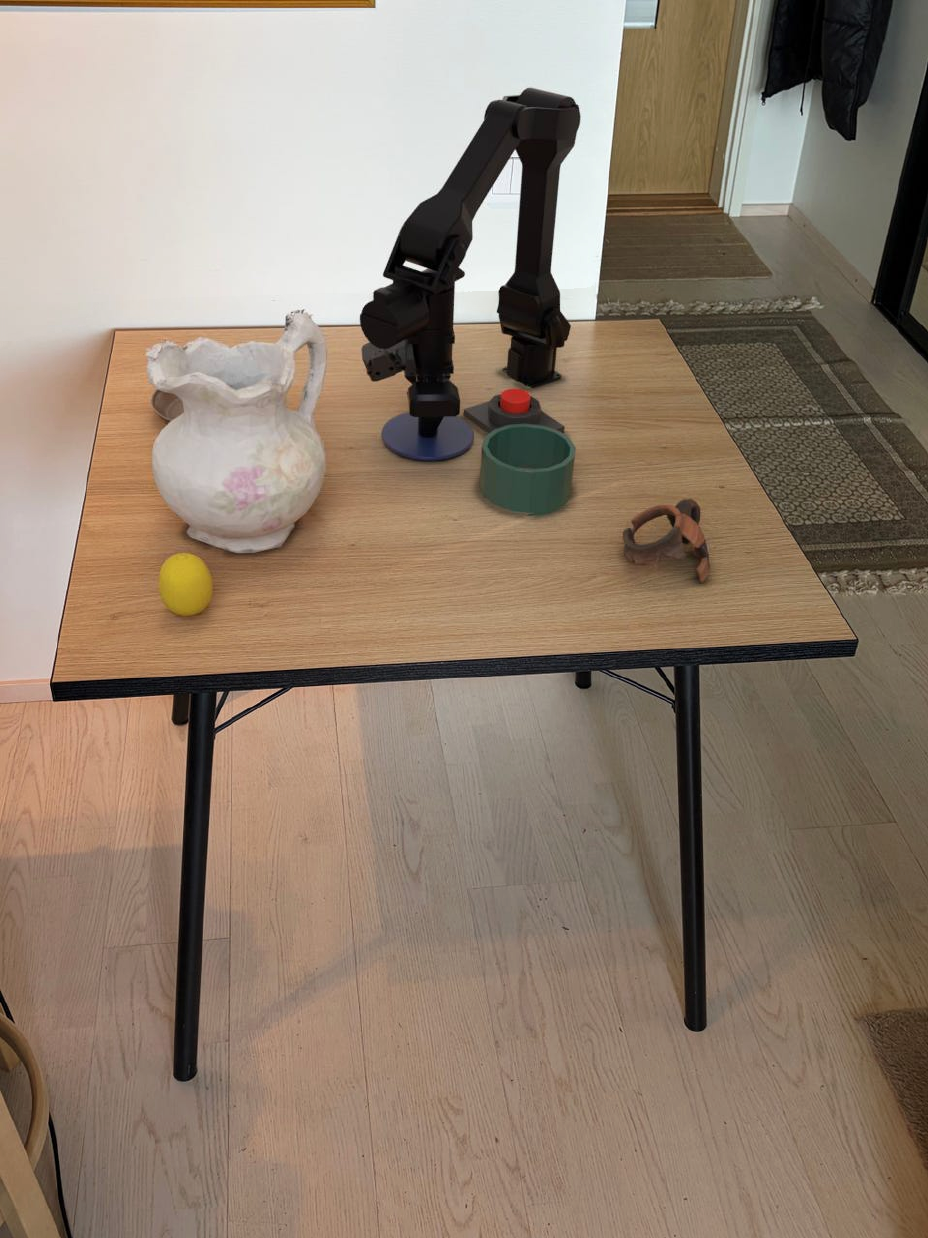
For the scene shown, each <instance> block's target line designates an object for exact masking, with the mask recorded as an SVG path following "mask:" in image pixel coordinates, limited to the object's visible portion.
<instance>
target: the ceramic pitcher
mask: <svg viewBox="0 0 928 1238" xmlns="http://www.w3.org/2000/svg"><path fill="white" fill-rule="evenodd" d="M305 310H306V309H296V310H292V311H291V312H290V313H289V312H288V313H287V314H286V316H285V320H284V321H285V324H284V329H283V332H282V335H281V336H280V338H279V339H278V340H277V341H276V342H266V341H265V342H264V341H257V340H250V341H246V342H245V341H244V342H241V343H238V344H236V345H233V346H229V345H227V344H226V343H225V344H224V343H222V342H220V341H217V340H214V339H212V338H210V337H205V336H199V337H198V338H197V339H193V340H190V341H188V342H186V343H185V345H184V346H183V347H182V346H180V345H179V344H177V343H176V342H175V341H172V340H171V341H169V340H167V339H164V342H161V343H160V342H158V343H156V344H154V345H153V346H152V347H151V348H146V349H145V350H146V351H145V354H143V356H146V359H147V363H146V376H147V379H148V380H147V381H148V382H149V384H150V385H151V387H153V388H154V389H155V390H156V389H157V390H160V391H163V392H168V393H173V394H175V395H177V396H178V397H179V398H180V399H181V400H182V402H183V407H184V413H183V414H181V415H180V416H178V417H177V418H175V419H174V420H172V421H171V422H170V423H168V422H167V424H166V425H165V426H164V427H163V428H162V429H161V430H160V432H159V434H158V435H157V437H156V438H155V440H154V443H153V445H152V448H151V449H152V452H151V469H152V473H153V477H154V483H155V486H156V488H157V490H158V492H159V494H160V496H161V498H162V499H163V502H164V503H165V504H166V505H167V507H168V508H169V509H170V510H171V511H172V513H174V514H175V515H176V516H177V517H178V518H180V519H181V520H182V521H183V522H184V523H185V524H186V525H188V526H189V527H188V529H187V530H186V534H187V535H188V537H189V538H191V539H194V540H197V541H199V542H202V543H204V544H208V545H209V546H213V547H216V548H218V549H222V550H225V551H228V552H231V553H235V554H251V553H252V554H254V553H259V552H264V551H268V550H272V549H277V548H282V546H283V545H284V543H285V542H286V541H287V539H288V537H289V536H290V534H291V533H292V531H293V530H294V528H295V526H296V525H295V523H296V522H297V521H298V520H299V519H300V518H302V517H303V516H304V515H305V514H306V513H307V512H308V511H309V510H310V509H311V507H312V506H313V504H314V503H315V500H316V498H317V497H318V495H319V494H320V492H321V489H322V486H323V483H324V480H325V475H326V470H327V463H326V462H327V461H326V452H325V445H324V442H323V440H322V438H321V436H320V434H319V433H318V432H317V430H316V423H315V419H314V414H315V408H316V406H317V404H318V401H319V400H320V397H321V395H322V390H323V385H324V380H325V376H326V371H327V361H328V346H327V341H326V338H325V335H324V333H323V332H324V331H323V330H322V328H320V327H319V325H318V324H317V323H316V322H315V321H314V320H313V318H312V317H313V316H314V314H313V313H312V314H309V313H308V311H305ZM305 346H306V347H307V348H308V357H309V367H308V374H307V377H306V379H305V382H304V385H303V387H302V395H301V401H300V404H299V407H298V409H297V410H293V409H289V407H288V404H287V396H288V393H289V391H290V388H291V387H292V384H293V382H294V378H295V375H296V362H295V355H296V353H297V352H298V351H299V350H300V349H302V348H303V347H305Z"/></svg>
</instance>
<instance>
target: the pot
mask: <svg viewBox="0 0 928 1238" xmlns="http://www.w3.org/2000/svg"><path fill="white" fill-rule="evenodd" d="M576 451H577V448H576V446H575V444H574V443H573V441H572V439H571V438H570V437H569V436H567V435H565V434H564V433H561V432H560V431H557V430H555V429H552V428H549V427H546V426H542V425H533V424H513V425H507V426H504V427H501V428H498V429H495V430H493V431H492V432H491V433H489V434H488V433H487V435H485V436H484V437H483V442H482V445H481V455H480V456H481V457H480V470H479V471H480V474H479V489H480V491H481V493H482V495H483V497H484V498H486V499H487V500H488V501H489V502H490V503H492V505H494V506H497V507H499V508H502V509H505V510H507V511H510V512H517V513H518V512H519V513H526V514H527V515H526V517H536V516H544V515H548V514H553V513H555V512H557V511H558V510H560V509H563V508H564V507H565V506H566V505H567V503H568V502H569V499H570V497H571V492H572V485H573V476H574V467H575V459H576ZM524 467H525V468H524ZM527 467H529V468H527Z"/></svg>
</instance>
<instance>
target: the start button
mask: <svg viewBox="0 0 928 1238" xmlns="http://www.w3.org/2000/svg"><path fill="white" fill-rule="evenodd" d="M500 394H501V397H500V408H501V409H502V410H504V411H507V412H510V413H523V412H526V411H528V410H529V407H530V396H531V395H530V393H529V392H527V391H526V390H524V389H521V388H508V389H505V390H503V391H502V392H501V393H500Z"/></svg>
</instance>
